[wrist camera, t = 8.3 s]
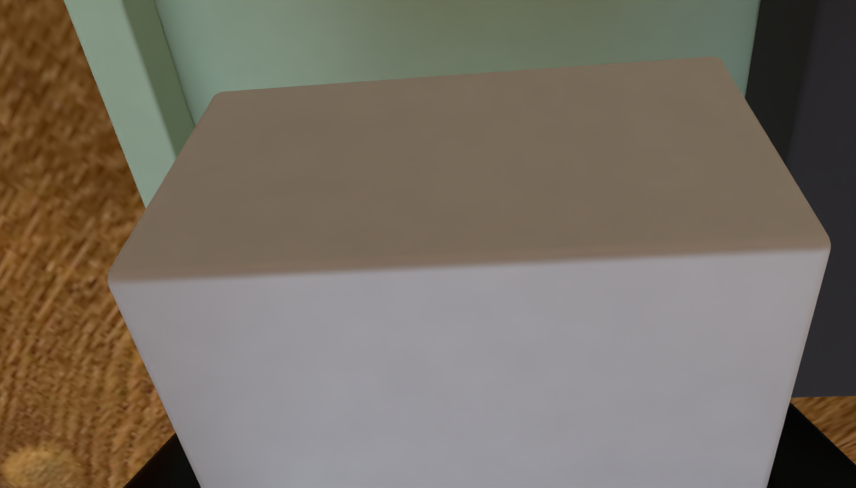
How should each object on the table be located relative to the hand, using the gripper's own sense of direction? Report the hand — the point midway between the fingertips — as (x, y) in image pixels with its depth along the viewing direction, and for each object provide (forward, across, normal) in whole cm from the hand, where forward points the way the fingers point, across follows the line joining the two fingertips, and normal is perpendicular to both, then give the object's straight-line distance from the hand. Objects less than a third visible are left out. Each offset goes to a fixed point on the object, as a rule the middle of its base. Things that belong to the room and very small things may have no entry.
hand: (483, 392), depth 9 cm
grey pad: (+1, 0, 0) cm, 1 cm away
